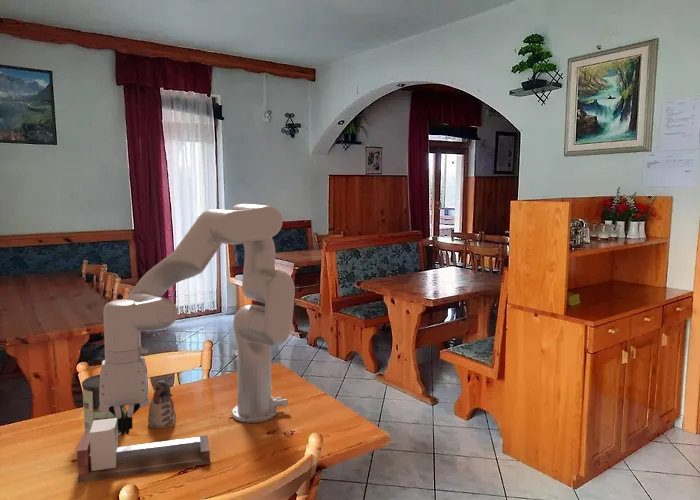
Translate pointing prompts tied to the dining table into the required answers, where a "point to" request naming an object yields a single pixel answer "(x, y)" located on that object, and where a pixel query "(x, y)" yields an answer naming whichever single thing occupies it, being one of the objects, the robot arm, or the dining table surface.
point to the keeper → (103, 444)
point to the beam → (156, 450)
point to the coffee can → (94, 403)
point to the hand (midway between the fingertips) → (125, 432)
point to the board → (137, 467)
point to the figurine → (161, 407)
